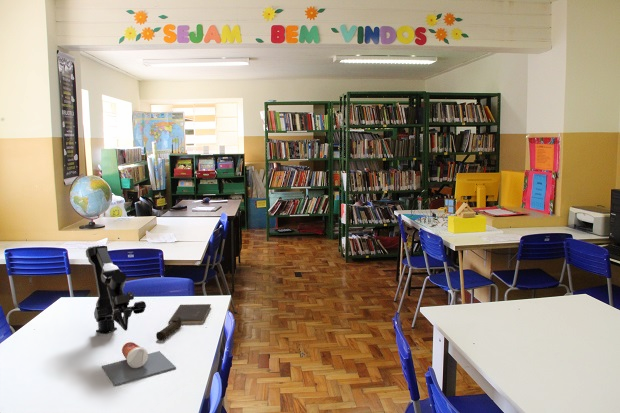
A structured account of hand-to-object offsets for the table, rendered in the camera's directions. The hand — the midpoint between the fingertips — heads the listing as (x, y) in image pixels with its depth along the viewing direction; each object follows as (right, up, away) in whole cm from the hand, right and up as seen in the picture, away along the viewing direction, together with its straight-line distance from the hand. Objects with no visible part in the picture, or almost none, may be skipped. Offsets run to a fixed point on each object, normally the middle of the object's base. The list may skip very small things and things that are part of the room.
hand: (126, 330), depth 196 cm
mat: (+8, -12, -10) cm, 18 cm away
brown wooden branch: (+10, -8, +25) cm, 28 cm away
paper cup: (+1, -7, -1) cm, 8 cm away
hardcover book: (+14, -5, +46) cm, 49 cm away
